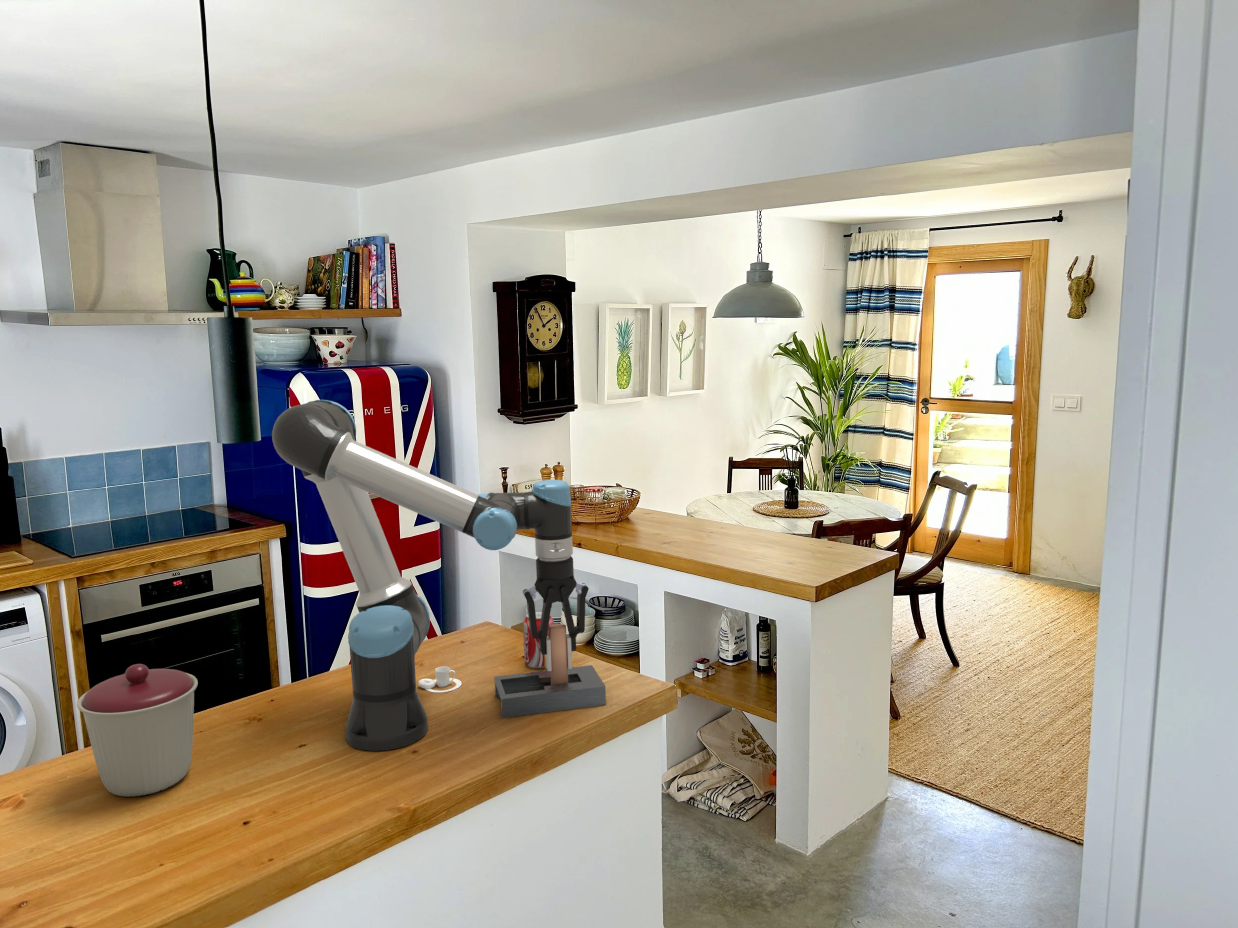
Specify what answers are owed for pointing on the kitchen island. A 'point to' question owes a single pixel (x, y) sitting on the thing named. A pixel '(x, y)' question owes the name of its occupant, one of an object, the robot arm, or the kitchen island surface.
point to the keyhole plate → (549, 692)
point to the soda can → (534, 643)
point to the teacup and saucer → (440, 680)
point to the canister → (141, 728)
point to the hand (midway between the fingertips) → (558, 667)
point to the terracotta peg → (558, 654)
